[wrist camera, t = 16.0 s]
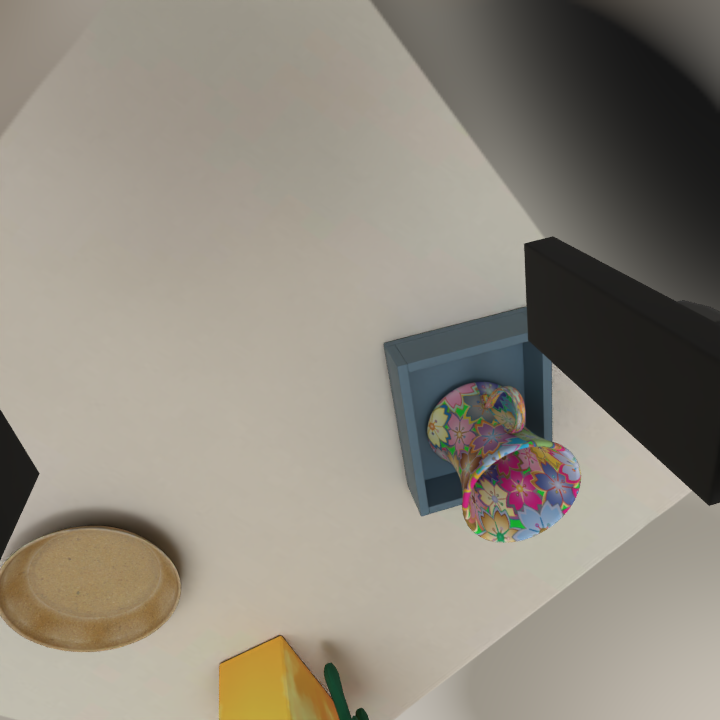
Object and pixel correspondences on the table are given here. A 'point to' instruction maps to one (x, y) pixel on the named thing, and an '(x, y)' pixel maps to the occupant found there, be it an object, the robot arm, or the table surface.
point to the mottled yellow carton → (279, 687)
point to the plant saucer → (88, 589)
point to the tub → (454, 369)
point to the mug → (502, 463)
